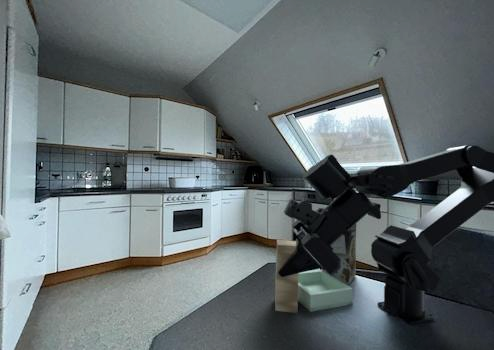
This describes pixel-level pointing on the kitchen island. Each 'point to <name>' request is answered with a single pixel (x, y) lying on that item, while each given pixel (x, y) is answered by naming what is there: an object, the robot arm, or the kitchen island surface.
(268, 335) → the kitchen island surface
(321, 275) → the tray
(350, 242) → the coffee box
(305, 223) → the robot arm
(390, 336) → the kitchen island surface
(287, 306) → the oak block
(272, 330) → the kitchen island surface
